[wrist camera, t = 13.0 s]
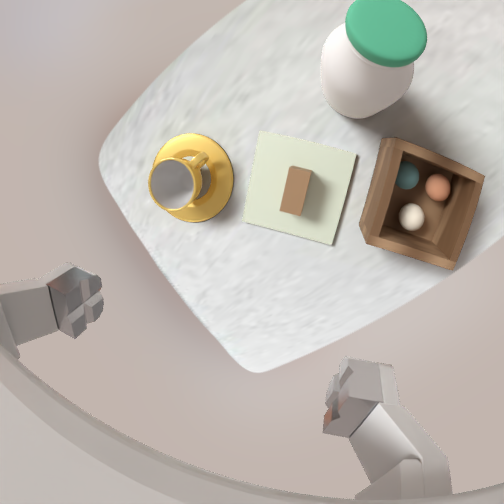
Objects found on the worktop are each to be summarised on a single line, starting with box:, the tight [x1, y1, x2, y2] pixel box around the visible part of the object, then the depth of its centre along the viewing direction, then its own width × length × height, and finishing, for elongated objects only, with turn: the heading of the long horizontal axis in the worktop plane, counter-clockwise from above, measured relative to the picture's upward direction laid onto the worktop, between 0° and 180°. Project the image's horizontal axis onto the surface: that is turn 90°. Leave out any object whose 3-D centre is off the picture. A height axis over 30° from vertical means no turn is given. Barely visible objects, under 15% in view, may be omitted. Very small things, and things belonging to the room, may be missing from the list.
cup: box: [148, 134, 233, 222], centre depth 35 cm, size 12×12×5 cm
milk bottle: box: [321, 0, 427, 119], centre depth 19 cm, size 8×8×20 cm
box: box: [359, 138, 485, 271], centre depth 28 cm, size 11×11×7 cm
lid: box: [242, 131, 356, 245], centre depth 33 cm, size 12×12×4 cm
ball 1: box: [395, 161, 419, 189], centre depth 28 cm, size 3×3×3 cm
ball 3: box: [425, 174, 451, 201], centre depth 27 cm, size 3×3×3 cm
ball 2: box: [399, 203, 425, 231], centre depth 29 cm, size 3×3×3 cm
